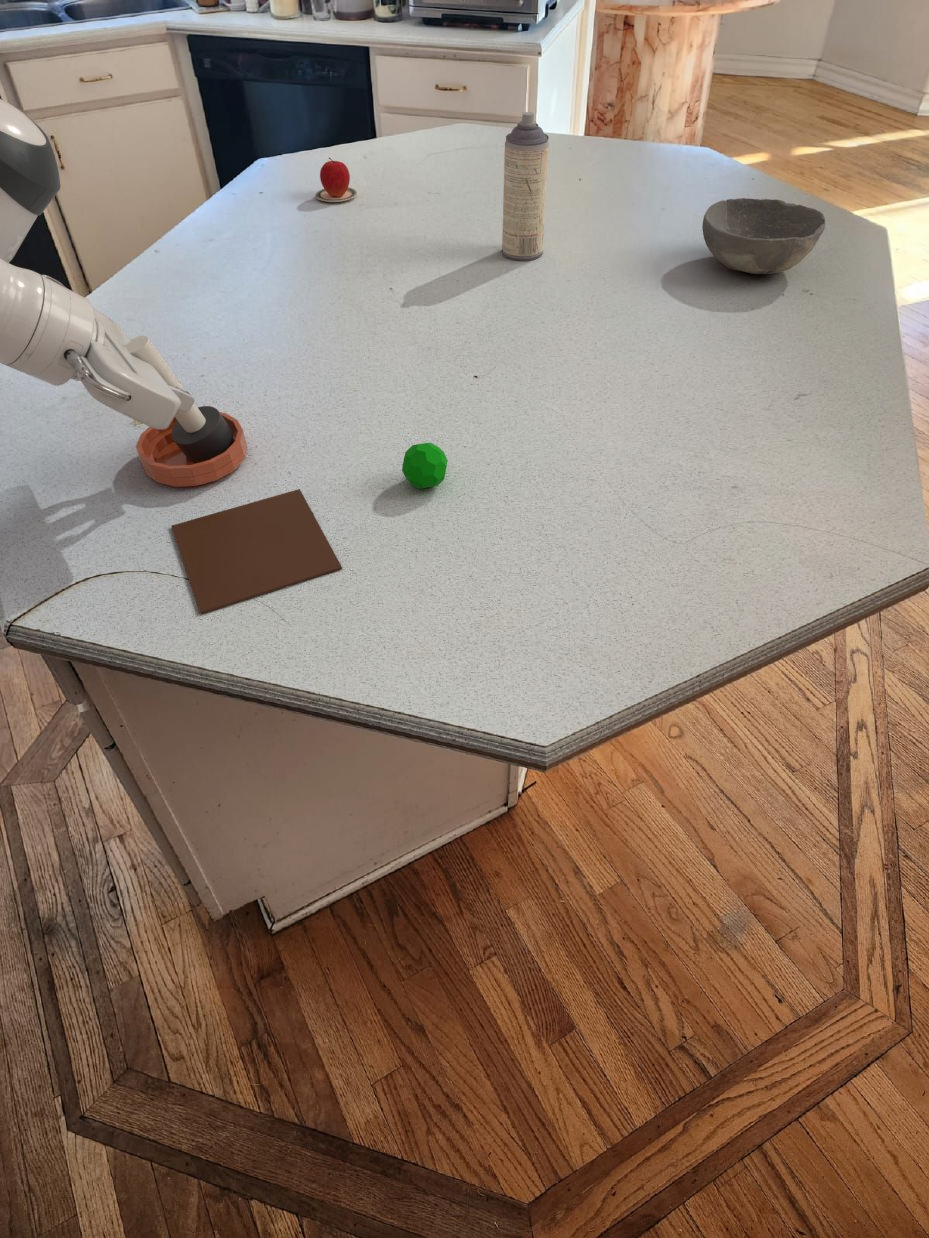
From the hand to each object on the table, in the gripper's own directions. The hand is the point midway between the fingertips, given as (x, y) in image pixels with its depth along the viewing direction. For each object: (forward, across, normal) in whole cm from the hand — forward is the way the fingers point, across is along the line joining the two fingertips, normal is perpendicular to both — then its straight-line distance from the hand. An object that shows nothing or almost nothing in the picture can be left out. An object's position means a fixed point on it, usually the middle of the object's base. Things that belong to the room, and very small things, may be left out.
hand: (183, 395), depth 82 cm
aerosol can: (+53, +25, -41) cm, 71 cm away
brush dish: (+5, 0, +6) cm, 8 cm away
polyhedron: (+19, -19, -7) cm, 28 cm away
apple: (+44, +68, -32) cm, 86 cm away
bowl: (+71, -1, -59) cm, 93 cm away
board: (+5, -18, +7) cm, 20 cm away
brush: (+6, 0, +4) cm, 7 cm away
